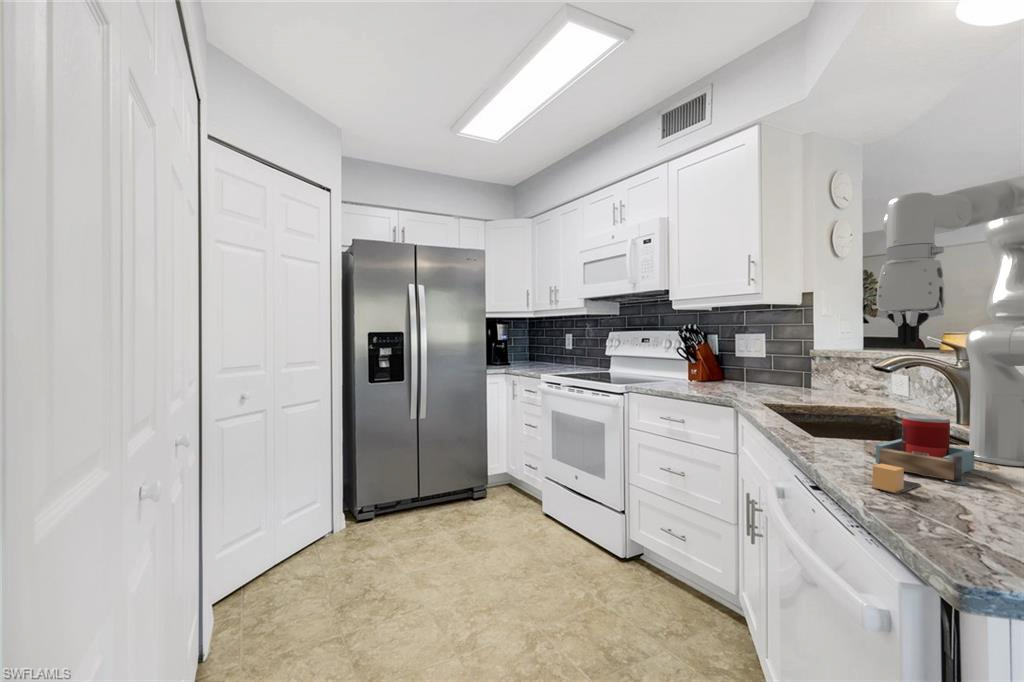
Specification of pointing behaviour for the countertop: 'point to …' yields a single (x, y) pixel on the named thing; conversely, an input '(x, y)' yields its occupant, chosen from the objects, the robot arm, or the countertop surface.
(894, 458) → the bar
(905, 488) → the grey flat plate
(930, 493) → the countertop surface
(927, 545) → the countertop surface
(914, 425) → the canned food
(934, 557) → the countertop surface
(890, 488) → the orange cube
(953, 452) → the keeper bay
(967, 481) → the hinge base
